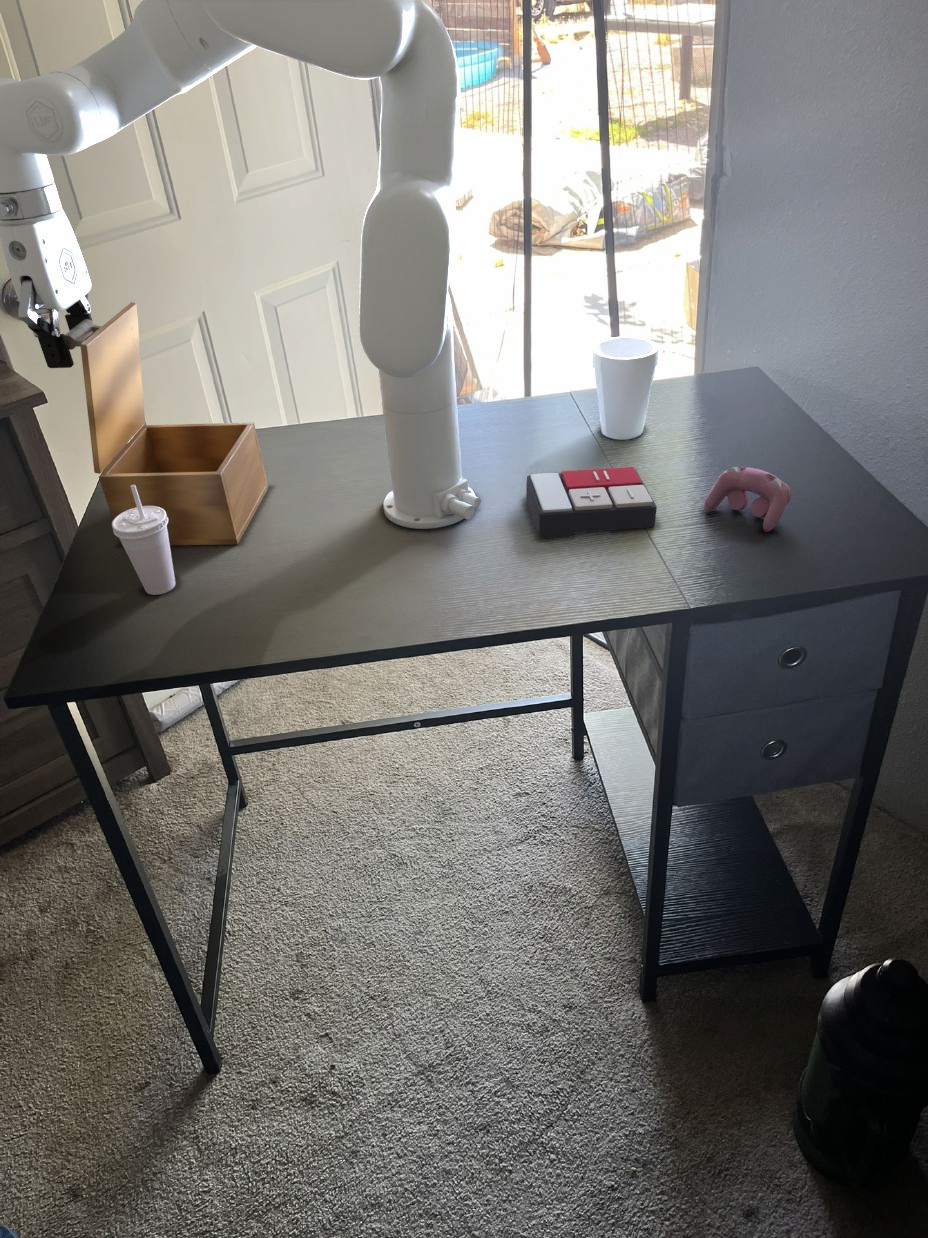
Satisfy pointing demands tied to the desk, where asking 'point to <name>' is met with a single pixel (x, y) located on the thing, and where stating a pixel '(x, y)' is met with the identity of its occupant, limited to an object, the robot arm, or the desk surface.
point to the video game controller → (755, 481)
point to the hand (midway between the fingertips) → (74, 354)
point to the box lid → (111, 381)
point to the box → (191, 479)
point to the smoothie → (147, 545)
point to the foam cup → (624, 383)
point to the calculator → (589, 501)
